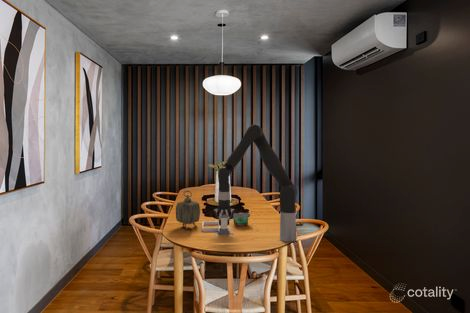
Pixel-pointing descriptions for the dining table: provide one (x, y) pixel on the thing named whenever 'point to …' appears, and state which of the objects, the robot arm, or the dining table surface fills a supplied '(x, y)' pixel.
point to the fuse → (224, 222)
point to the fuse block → (223, 232)
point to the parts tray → (210, 228)
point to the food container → (241, 219)
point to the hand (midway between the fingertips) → (223, 225)
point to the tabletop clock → (187, 211)
